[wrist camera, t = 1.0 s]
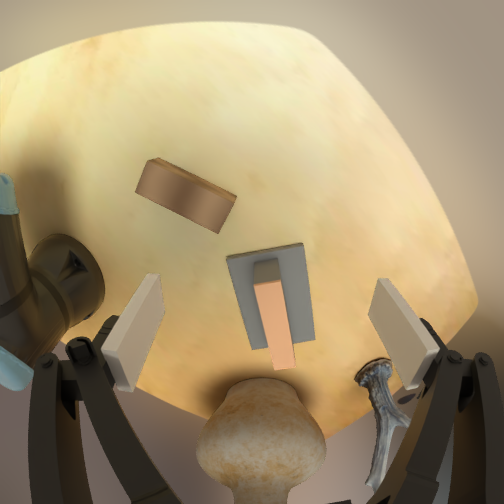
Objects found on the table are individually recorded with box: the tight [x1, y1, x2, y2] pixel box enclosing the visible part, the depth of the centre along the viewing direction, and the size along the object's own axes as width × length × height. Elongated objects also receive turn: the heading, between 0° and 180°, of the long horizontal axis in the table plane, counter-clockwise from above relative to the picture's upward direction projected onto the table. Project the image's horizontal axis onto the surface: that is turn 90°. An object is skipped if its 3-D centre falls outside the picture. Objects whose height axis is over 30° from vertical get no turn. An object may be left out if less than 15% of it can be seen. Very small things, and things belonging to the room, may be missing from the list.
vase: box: [196, 378, 326, 504], centre depth 36 cm, size 22×22×30 cm
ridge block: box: [226, 243, 315, 370], centre depth 36 cm, size 10×16×7 cm, turn 12°
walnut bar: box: [135, 158, 237, 234], centre depth 32 cm, size 11×4×4 cm, turn 62°
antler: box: [354, 359, 412, 494], centre depth 35 cm, size 12×8×25 cm
